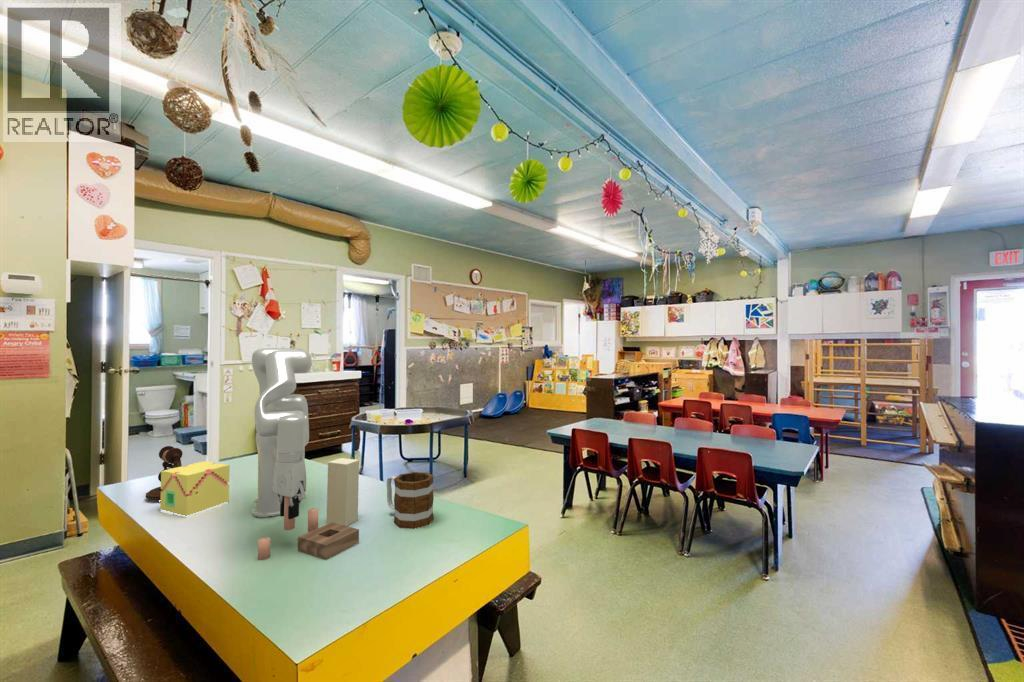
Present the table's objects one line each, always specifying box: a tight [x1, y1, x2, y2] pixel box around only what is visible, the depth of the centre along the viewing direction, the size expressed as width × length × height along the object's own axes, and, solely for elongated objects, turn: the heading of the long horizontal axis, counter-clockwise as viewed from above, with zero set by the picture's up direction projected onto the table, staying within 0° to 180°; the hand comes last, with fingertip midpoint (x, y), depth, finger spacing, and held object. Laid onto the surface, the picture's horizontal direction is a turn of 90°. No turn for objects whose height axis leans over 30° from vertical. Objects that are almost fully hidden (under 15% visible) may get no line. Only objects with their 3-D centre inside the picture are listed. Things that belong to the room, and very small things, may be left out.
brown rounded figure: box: [145, 445, 183, 501], centre depth 170 cm, size 15×15×20 cm
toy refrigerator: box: [326, 457, 360, 527], centre depth 145 cm, size 8×7×21 cm
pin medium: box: [307, 508, 319, 533], centre depth 135 cm, size 3×3×8 cm
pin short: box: [257, 536, 271, 561], centre depth 120 cm, size 3×3×5 cm
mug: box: [386, 471, 435, 530], centre depth 148 cm, size 20×14×15 cm
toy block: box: [159, 460, 230, 516], centre depth 158 cm, size 15×15×15 cm
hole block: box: [297, 522, 360, 561], centre depth 127 cm, size 12×12×4 cm
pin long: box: [283, 496, 296, 531], centre depth 128 cm, size 3×3×12 cm
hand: (289, 515), depth 128 cm, fingers closed on pin long, 3 cm apart
